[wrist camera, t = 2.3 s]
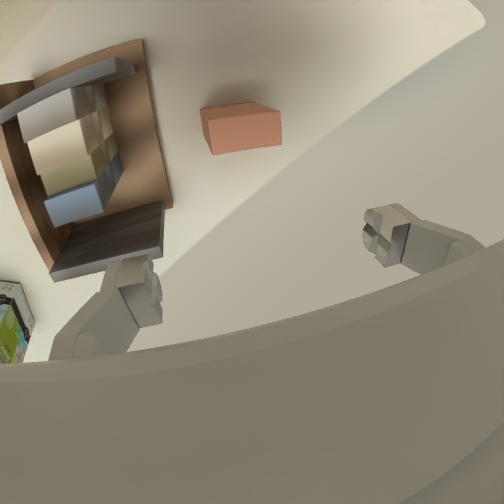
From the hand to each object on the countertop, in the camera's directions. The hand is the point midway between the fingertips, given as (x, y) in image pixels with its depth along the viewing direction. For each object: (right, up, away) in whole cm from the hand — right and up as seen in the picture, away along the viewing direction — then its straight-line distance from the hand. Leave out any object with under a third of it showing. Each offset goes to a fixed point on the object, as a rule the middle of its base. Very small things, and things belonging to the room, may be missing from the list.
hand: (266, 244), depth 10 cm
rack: (-18, +12, +16) cm, 27 cm away
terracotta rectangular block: (-3, +15, +19) cm, 24 cm away
